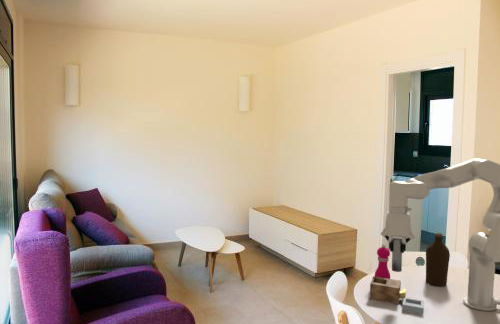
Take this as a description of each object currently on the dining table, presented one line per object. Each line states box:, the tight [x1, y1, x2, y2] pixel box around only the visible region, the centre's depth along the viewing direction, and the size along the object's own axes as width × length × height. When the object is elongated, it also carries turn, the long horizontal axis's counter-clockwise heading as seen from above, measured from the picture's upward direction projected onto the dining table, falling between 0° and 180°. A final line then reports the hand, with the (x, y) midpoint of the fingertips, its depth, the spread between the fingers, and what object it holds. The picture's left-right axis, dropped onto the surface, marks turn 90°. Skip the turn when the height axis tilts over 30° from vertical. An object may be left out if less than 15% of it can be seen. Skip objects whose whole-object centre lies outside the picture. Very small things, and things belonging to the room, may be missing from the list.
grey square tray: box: [401, 296, 425, 315], centre depth 170 cm, size 8×8×3 cm
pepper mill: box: [374, 243, 391, 279], centre depth 196 cm, size 7×7×20 cm
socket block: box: [369, 275, 402, 305], centre depth 181 cm, size 12×10×7 cm
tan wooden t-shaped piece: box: [399, 288, 407, 302], centre depth 179 cm, size 7×4×4 cm, turn 65°
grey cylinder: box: [391, 236, 403, 273], centre depth 175 cm, size 4×4×14 cm
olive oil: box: [425, 232, 451, 288], centre depth 198 cm, size 11×11×25 cm
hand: (397, 251), depth 175 cm, fingers closed on grey cylinder, 4 cm apart
